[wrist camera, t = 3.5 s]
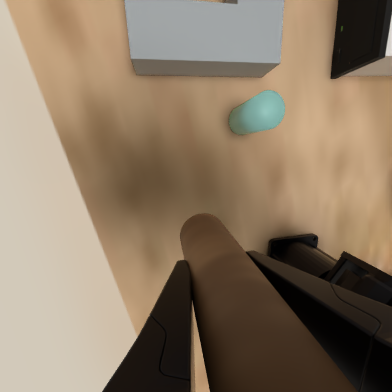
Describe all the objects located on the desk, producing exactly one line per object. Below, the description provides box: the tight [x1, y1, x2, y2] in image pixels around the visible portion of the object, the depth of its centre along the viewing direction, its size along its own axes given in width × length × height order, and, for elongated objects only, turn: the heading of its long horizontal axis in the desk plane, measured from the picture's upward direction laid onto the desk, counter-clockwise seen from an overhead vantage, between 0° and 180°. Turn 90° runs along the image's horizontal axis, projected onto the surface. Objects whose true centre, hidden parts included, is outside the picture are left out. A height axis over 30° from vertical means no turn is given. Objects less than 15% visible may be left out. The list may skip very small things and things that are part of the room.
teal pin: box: [229, 90, 285, 135], centre depth 17 cm, size 3×3×5 cm
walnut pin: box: [180, 213, 358, 392], centre depth 7 cm, size 3×3×9 cm
